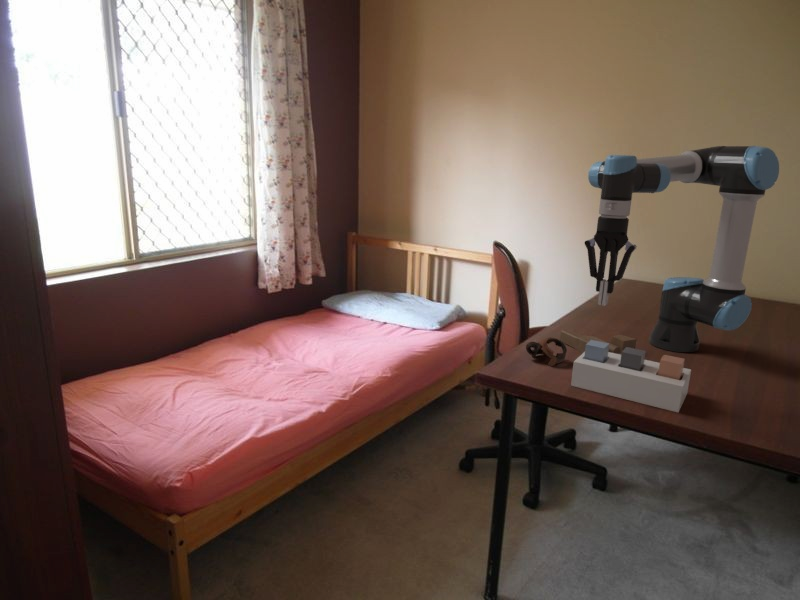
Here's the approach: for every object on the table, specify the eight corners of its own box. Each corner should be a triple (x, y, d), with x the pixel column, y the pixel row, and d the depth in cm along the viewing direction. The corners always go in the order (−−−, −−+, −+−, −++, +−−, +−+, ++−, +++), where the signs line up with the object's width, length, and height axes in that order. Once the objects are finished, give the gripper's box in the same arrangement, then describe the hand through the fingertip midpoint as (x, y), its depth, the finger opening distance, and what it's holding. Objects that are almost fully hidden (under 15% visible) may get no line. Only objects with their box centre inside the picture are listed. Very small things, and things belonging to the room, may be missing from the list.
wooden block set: (598, 343, 175) (560, 326, 191) (596, 361, 176) (558, 342, 192) (639, 337, 182) (599, 321, 197) (637, 354, 183) (597, 337, 199)
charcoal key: (643, 368, 153) (645, 350, 152) (639, 374, 149) (641, 356, 148) (623, 364, 156) (626, 346, 155) (619, 369, 152) (621, 351, 151)
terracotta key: (681, 376, 148) (684, 358, 147) (678, 383, 144) (681, 364, 143) (661, 372, 151) (663, 354, 150) (657, 378, 147) (660, 360, 146)
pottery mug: (553, 355, 180) (566, 338, 175) (558, 378, 173) (572, 360, 168) (518, 346, 178) (530, 328, 173) (522, 369, 171) (534, 351, 166)
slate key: (607, 360, 158) (609, 343, 157) (602, 365, 154) (604, 348, 153) (589, 356, 161) (591, 339, 160) (583, 361, 157) (585, 344, 156)
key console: (687, 393, 153) (691, 369, 151) (678, 412, 141) (682, 386, 140) (586, 370, 167) (588, 347, 165) (570, 385, 156) (573, 361, 154)
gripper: (583, 215, 148) (573, 302, 154) (637, 220, 141) (625, 311, 147) (591, 213, 154) (582, 297, 160) (644, 217, 147) (631, 305, 153)
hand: (602, 304), depth 154 cm, fingers closed
